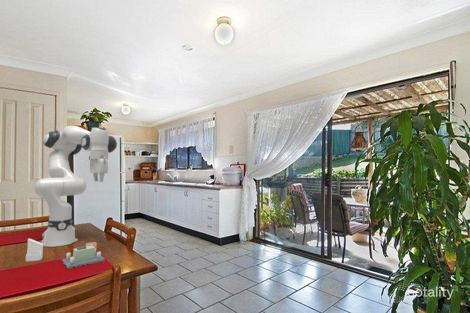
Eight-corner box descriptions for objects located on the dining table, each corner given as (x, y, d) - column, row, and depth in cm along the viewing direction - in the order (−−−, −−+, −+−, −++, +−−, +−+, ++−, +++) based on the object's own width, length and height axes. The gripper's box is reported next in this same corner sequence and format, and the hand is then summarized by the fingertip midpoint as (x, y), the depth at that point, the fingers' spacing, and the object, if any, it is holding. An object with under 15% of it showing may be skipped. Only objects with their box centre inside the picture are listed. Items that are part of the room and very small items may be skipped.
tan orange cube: (84, 253, 137) (84, 243, 137) (94, 251, 140) (95, 241, 140) (86, 255, 133) (87, 245, 133) (97, 253, 136) (97, 243, 137)
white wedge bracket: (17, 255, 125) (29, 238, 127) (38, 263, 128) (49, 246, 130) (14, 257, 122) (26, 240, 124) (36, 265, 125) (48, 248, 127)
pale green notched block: (73, 259, 123) (73, 247, 124) (91, 255, 129) (92, 244, 129) (75, 262, 120) (75, 249, 120) (94, 258, 125) (95, 246, 125)
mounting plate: (62, 261, 124) (62, 252, 124) (96, 254, 134) (97, 246, 134) (67, 268, 114) (68, 259, 114) (104, 261, 124) (104, 252, 125)
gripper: (111, 155, 137) (110, 182, 137) (100, 157, 152) (99, 181, 152) (98, 155, 133) (97, 182, 132) (87, 156, 148) (87, 181, 147)
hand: (98, 181), depth 142 cm, fingers open, 8 cm apart
